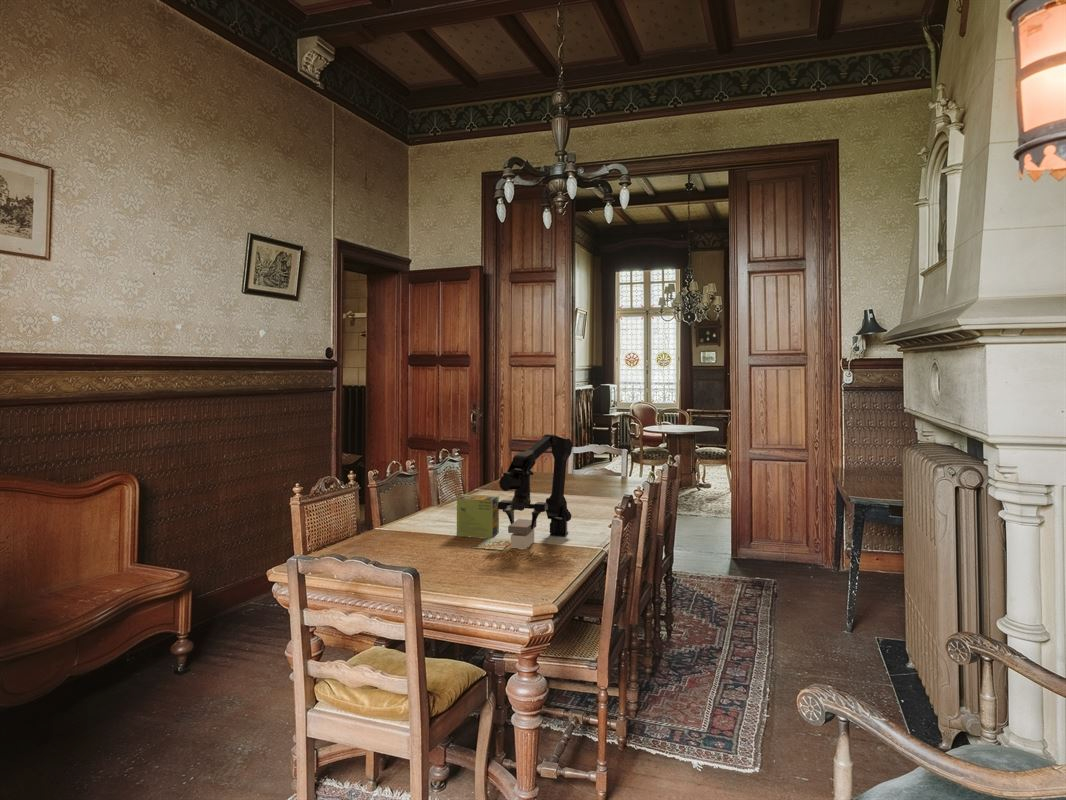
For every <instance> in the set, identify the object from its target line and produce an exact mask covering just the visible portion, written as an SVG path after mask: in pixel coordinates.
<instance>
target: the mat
mask: <svg viewBox="0 0 1066 800" xmlns="http://www.w3.org/2000/svg"><path fill="white" fill-rule="evenodd" d="M487 540H488V541H487ZM490 541H491V542H490ZM495 541H496V542H499V541H503V542H501V543H500V544H501V545H502V544H503V543H504V542H505V541H509V542H510V543H511V538H508V539H507V538H498V537H497V538H495V537H493V538H485V539H484V540H483V541H482V542H481V543H479V544H478V545H477V546H480V544H481V545H482V546H483V545H484V544H485V545H486V546H487V545H488V544H489V545H492V544H493V543H492V542H495ZM489 542H490V543H489ZM494 544H495V545H496V544H497V543H494ZM494 547H497V546H494ZM498 547H505V546H498ZM498 547H497V548H493V547H491V548H489V547H486V548H485V547H482V548H485V549H488V548H489V549H498V550H503V549H504V548H498ZM474 548H476V546H475V547H474ZM478 548H481V547H478ZM485 549H484V550H485ZM498 550H497V551H498ZM504 550H505V549H504ZM504 550H503V551H504Z"/></svg>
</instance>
